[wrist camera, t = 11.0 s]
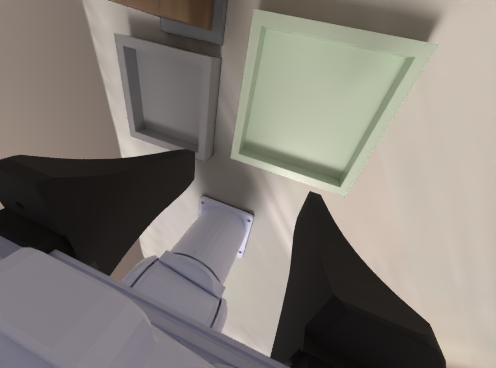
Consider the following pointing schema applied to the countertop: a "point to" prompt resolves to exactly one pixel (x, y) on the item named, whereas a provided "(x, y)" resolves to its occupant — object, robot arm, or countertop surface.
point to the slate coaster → (199, 33)
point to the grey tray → (169, 94)
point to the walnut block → (177, 10)
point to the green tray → (320, 97)
